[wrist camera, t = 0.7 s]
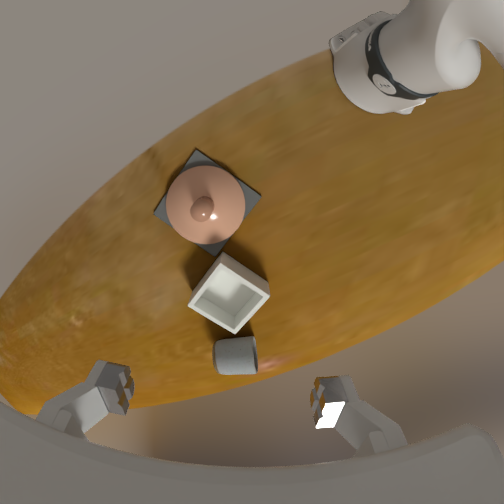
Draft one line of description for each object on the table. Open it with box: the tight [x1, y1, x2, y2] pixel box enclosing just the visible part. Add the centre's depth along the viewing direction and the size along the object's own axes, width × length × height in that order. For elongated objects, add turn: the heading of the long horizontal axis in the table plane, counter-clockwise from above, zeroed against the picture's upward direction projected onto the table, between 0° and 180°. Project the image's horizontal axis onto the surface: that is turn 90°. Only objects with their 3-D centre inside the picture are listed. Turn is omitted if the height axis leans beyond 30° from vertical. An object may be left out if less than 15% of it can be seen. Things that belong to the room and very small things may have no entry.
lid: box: [166, 165, 245, 244], centre depth 43 cm, size 13×13×5 cm
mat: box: [154, 150, 261, 257], centre depth 45 cm, size 13×13×1 cm
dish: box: [187, 251, 270, 334], centre depth 48 cm, size 10×10×5 cm
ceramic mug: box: [212, 336, 258, 375], centre depth 53 cm, size 11×8×8 cm
